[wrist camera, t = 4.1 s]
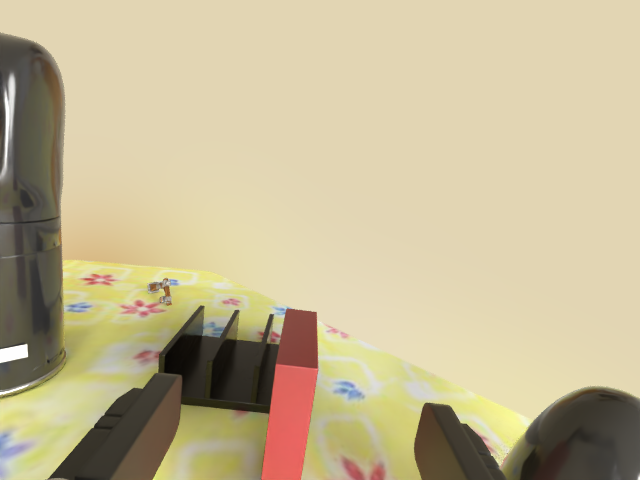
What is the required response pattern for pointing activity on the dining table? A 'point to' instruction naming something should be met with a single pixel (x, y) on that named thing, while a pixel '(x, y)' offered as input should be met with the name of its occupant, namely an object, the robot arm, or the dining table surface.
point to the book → (292, 397)
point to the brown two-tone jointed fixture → (164, 285)
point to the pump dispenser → (580, 439)
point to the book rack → (222, 366)
